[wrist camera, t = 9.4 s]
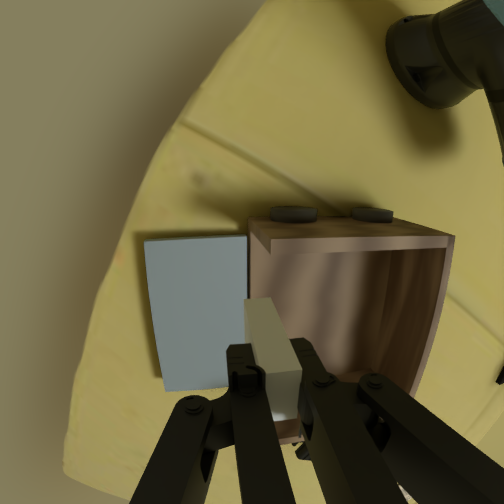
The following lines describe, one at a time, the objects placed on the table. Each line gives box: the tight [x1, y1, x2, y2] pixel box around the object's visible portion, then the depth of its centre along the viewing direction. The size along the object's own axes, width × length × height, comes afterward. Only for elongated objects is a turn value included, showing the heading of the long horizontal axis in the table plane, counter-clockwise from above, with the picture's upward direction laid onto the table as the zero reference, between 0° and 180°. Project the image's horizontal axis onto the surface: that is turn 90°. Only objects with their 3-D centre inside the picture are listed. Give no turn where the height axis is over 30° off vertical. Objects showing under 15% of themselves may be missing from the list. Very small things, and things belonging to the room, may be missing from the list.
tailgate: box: [144, 234, 247, 392], centre depth 34 cm, size 2×20×11 cm
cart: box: [248, 206, 455, 445], centre depth 32 cm, size 20×26×12 cm
